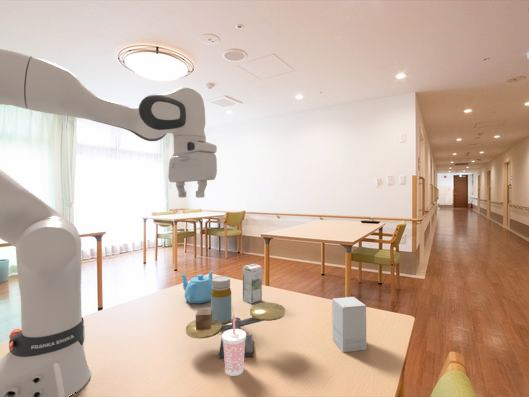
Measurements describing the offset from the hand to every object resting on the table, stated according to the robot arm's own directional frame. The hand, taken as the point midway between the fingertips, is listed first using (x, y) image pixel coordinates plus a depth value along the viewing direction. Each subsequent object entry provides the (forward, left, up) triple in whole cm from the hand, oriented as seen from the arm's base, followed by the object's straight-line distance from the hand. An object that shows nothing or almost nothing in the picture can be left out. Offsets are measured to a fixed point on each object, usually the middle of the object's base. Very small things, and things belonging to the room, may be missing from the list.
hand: (190, 197), depth 79 cm
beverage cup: (+5, -15, -44) cm, 46 cm away
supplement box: (+38, -24, -44) cm, 63 cm away
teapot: (+17, +36, -44) cm, 59 cm away
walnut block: (+2, -3, -36) cm, 36 cm away
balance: (+10, -7, -43) cm, 45 cm away
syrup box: (+33, +21, -44) cm, 58 cm away
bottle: (+14, +11, -44) cm, 47 cm away
